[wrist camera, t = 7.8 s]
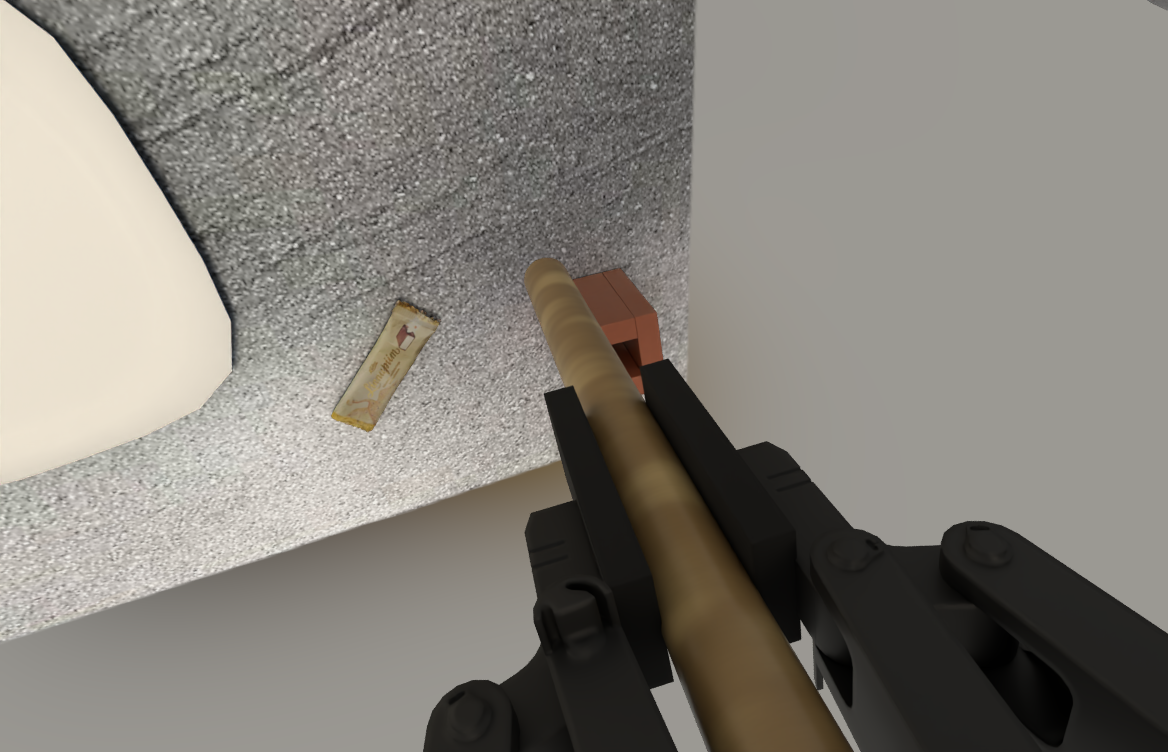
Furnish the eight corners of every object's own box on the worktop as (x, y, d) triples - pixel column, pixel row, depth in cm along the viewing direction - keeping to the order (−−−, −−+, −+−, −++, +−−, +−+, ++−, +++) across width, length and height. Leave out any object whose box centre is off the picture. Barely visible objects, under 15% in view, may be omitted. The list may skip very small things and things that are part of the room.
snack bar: (373, 434, 44) (331, 425, 42) (368, 420, 45) (326, 411, 43) (444, 321, 42) (403, 306, 40) (437, 309, 43) (396, 294, 41)
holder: (620, 267, 43) (657, 311, 36) (631, 334, 46) (667, 388, 39) (547, 285, 43) (570, 334, 36) (561, 352, 45) (586, 410, 38)
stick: (562, 251, 26) (866, 737, 8) (571, 292, 27) (864, 813, 9) (519, 263, 26) (730, 785, 8) (529, 304, 27) (741, 857, 9)
